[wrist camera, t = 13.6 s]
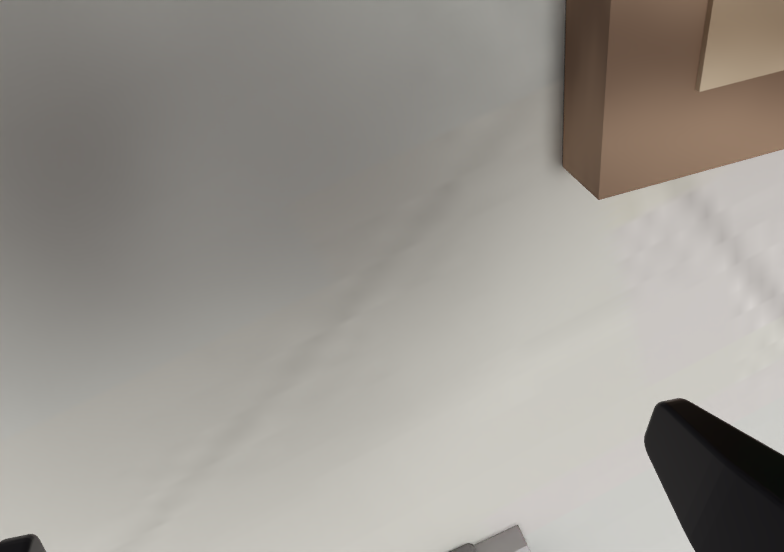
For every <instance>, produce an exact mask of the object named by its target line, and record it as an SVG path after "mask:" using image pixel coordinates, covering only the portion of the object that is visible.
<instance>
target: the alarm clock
mask: <svg viewBox="0 0 784 552" xmlns="http://www.w3.org/2000/svg"><path fill="white" fill-rule="evenodd" d="M450 552H531V551H530V549H529V547H528V545H527V543H526V541H525V539H524V537H523V535H522V532H521V530H520V528H519V526H518V525H517V526H514V527H512V528H510V529H508V530H506V531H504V532H502V533H500V534H497V535H495V536H493V537H491V538H489V539H487V540H485V541H482V542H480V543H478V544H476V545H474V546H472V545H471V544H465V545H463V546H461V547H459V548H457V549H455V550H452V551H450Z"/></svg>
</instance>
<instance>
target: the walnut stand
mask: <svg viewBox="0 0 784 552" xmlns="http://www.w3.org/2000/svg"><path fill="white" fill-rule="evenodd" d="M782 149H784V0H566V37H565V83H564V128H563V167H564V168H565V169H566V170H567V171H568V172H569V173H570V174H571V175H572V176H573V177H574V178H575V179H577V180H578V181H579V182H580V183H581V184H582V185H583V186H584V187H585V188H586V189H587V190H588V191H590V192H591V193H592V194H593V195H594V196H595V197H596V198H597V199H598V200H600V199H604V198H607V197H611V196H615V195H618V194H622V193H626V192H629V191H633V190H637V189H640V188H644V187H648V186H651V185H655V184H658V183H662V182H666V181H669V180H673V179H677V178H680V177H684V176H688V175H691V174H695V173H698V172H702V171H706V170H709V169H713V168H717V167H720V166H724V165H728V164H731V163H735V162H739V161H742V160H746V159H749V158H753V157H757V156H760V155H764V154H768V153H771V152H775V151H779V150H782Z"/></svg>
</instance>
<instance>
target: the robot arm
mask: <svg viewBox="0 0 784 552" xmlns="http://www.w3.org/2000/svg"><path fill="white" fill-rule="evenodd" d="M644 443H645V448H646V451H647V454H648V456H649V458H650V460H651V462H652V464H653V466H654V469H655V471H656V473H657V475H658V477H659V479H660V481H661V483H662V485H663V488H664V490H665V492H666V494H667V496H668V498H669V500H670V502H671V505H672V507H673V509H674V511H675V513H676V515H677V517H678V519H679V521H680V524H681V526H682V528H683V530H684V532H685V534H686V535H687V537H688V539H689V541H690V543H691V545H692V546H693V548H694V550H695V552H784V455H782V454H780V453H779V452H777V451H775V450H773V449H772V448H770V447H768V446H766V445H765V444H763V443H761V442H759V441H758V440H756V439H754V438H752V437H751V436H749V435H747V434H745V433H744V432H742V431H740V430H738V429H737V428H735V427H733V426H731V425H730V424H728V423H726V422H725V421H723V420H721V419H719V418H718V417H716V416H714V415H712V414H711V413H709V412H707V411H705V410H704V409H702V408H700V407H698V406H697V405H695V404H693V403H691V402H690V401H688V400H685V399H681V398H677V399H672V400H667V401H662V402H659V403H658V404H657V405H656V406H655V408H654V410H653V413H652V416H651V419H650V422H649V424H648V427H647V430H646V433H645V436H644ZM0 552H46V551H45V549H44V547H43V545H42V543H41V541H40V539H39V538H38V537H37V536H36V535H34V534H27V535H23V536H18V537H13V538H8V539H5V540H2V541H1V542H0Z"/></svg>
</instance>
